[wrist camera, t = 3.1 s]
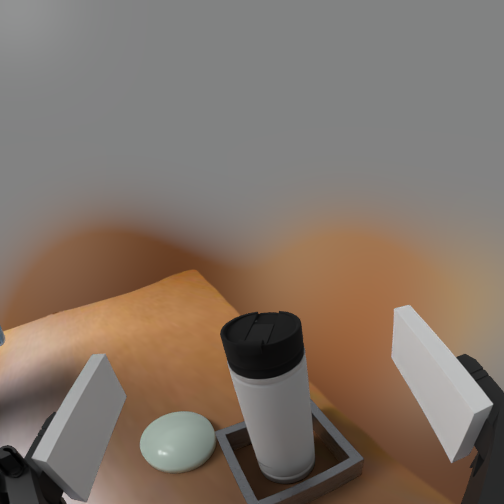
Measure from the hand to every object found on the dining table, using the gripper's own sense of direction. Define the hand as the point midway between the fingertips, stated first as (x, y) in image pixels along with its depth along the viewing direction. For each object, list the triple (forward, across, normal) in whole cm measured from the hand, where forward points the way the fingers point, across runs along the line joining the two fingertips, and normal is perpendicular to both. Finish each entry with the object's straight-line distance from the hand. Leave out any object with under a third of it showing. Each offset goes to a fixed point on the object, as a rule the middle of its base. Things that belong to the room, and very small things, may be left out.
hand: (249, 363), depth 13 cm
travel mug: (+10, 0, -24) cm, 26 cm away
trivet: (+14, -13, -24) cm, 31 cm away
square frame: (+10, 0, -24) cm, 26 cm away
